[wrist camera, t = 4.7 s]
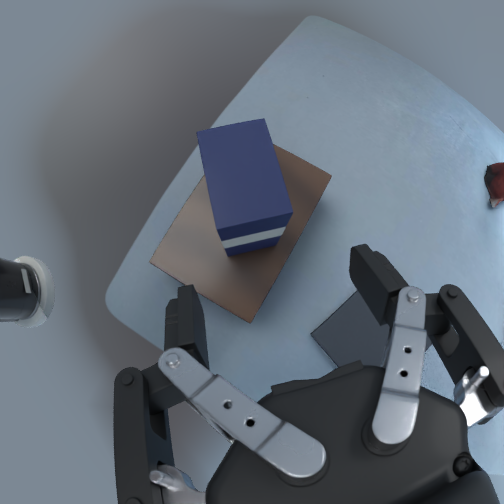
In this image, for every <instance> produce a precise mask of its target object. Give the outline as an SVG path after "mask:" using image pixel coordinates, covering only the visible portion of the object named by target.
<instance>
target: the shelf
mask: <svg viewBox="0 0 504 504" xmlns="http://www.w3.org/2000/svg"><path fill="white" fill-rule="evenodd" d="M273 146H274V150H275V153H276V156H277V159H278V162H279V166H280V169H281V172H282V175H283V179H284V182H285V185H286V189H287V192H288V195H289V199H290V202H291V206H292V209H293V214H292V216H291V218H290V220H289V222H288V224H287V226H286V228H285V230H284V232H283V234H282V235H281V237H280V239H279V241H278V243H277V245H275V246H271V247H267V248H262V249H258V250H254V251H250V252H245V253H241V254H237V255H232V256H227V254H226V252H225V249H224V247H223V245H222V243H221V240H220V237H219V235H218V232H217V230H216V225H215V221H214V216H213V211H212V207H211V202H210V197H209V193H208V188H207V183H206V178H205V174H204V176H203V177H202V179H201V180H200V182H199V183H198V185H197V186H196V188H195V189H194V191H193V192H192V194H191V195H190V197H189V198H188V200H187V201H186V203H185V204H184V206H183V207H182V209H181V211H180V212H179V214H178V215H177V217H176V218H175V220H174V222H173V223H172V225H171V226H170V228H169V230H168V231H167V233H166V234H165V236H164V238H163V239H162V241H161V243H160V244H159V246H158V248H157V249H156V251H155V253H154V254H153V256H152V258H151V259H150V261H149V262H150V263H151V264H153V265H154V266H156V267H157V268H159V269H161V270H162V271H164V272H165V273H167V274H168V275H170V276H172V277H173V278H175V279H176V280H178V281H179V282H181V283H183V284H184V285H186V286H187V285H191V284H193V285H194V287H195V290H196V292H197V293H199V294H201V295H202V296H204V297H206V298H207V299H209V300H211V301H212V302H214V303H216V304H217V305H219V306H221V307H222V308H224V309H226V310H228V311H229V312H231V313H233V314H234V315H236V316H238V317H240V318H241V319H243V320H245V321H247V322H248V323H251V322H252V320H253V318H254V317H255V315H256V313H257V312H258V310H259V308H260V306H261V305H262V303H263V301H264V299H265V298H266V296H267V294H268V292H269V291H270V289H271V287H272V285H273V284H274V282H275V280H276V278H277V277H278V275H279V273H280V271H281V269H282V268H283V266H284V264H285V262H286V260H287V259H288V257H289V255H290V253H291V251H292V250H293V248H294V246H295V244H296V242H297V240H298V239H299V237H300V235H301V233H302V231H303V229H304V228H305V226H306V224H307V222H308V220H309V218H310V216H311V215H312V213H313V211H314V209H315V207H316V205H317V203H318V202H319V200H320V198H321V196H322V194H323V192H324V190H325V188H326V186H327V184H328V182H329V181H330V179H331V177H332V175H330V174H328V173H326V172H325V171H323V170H321V169H319V168H318V167H316V166H314V165H312V164H310V163H309V162H307V161H305V160H303V159H301V158H299V157H297V156H296V155H294V154H292V153H290V152H288V151H286V150H284V149H282V148H280V147H278V146H276V145H274V144H273Z"/></svg>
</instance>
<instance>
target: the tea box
mask: <svg viewBox="0 0 504 504" xmlns="http://www.w3.org/2000/svg"><path fill="white" fill-rule="evenodd" d="M197 137H198V143H199V148H200V153H201V158H202V163H203V168H204V173H205V178H206V183H207V188H208V193H209V197H210V202H211V207H212V211H213V216H214V221H215V225H216V230H217V232H218V235H219V237H220V240H221V243H222V245H223V247H224V249H225V252H226V254H227V256H232V255H237V254H241V253H245V252H250V251H254V250H258V249H262V248H267V247H271V246H275V245H277V243H278V241H279V239H280V237H281V235H282V234H283V232H284V230H285V228H286V226H287V224H288V222H289V220H290V218H291V216H292V214H293V209H292V206H291V202H290V199H289V195H288V192H287V189H286V185H285V182H284V179H283V175H282V172H281V169H280V166H279V162H278V159H277V156H276V153H275V150H274V146H273V143H272V140H271V137H270V134H269V131H268V128H267V125H266V122H265V119H264V118H263V119H257V120H252V121H246V122H241V123H235V124H230V125H226V126H221V127H216V128H211V129H207V130H203V131H199V132H197Z"/></svg>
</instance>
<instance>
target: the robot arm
mask: <svg viewBox="0 0 504 504" xmlns="http://www.w3.org/2000/svg"><path fill="white" fill-rule="evenodd" d="M349 273H350V278H351V280H352V282H353V284H354V285H355V287H356V288H357V290H358V291H359V293H360V295H361V296H362V298H363V299H364V301H365V303H366V304H367V306H368V307H369V309H370V311H371V312H372V314H373V315H374V317H375V319H376V320H377V322H378V324H379V325H380V326H383V325H385V324H388V325H389V327H390V328H389V331H388V336H387V341H386V345H385V350H384V354H383V358H382V362H381V365H380V367H379V366H374V365H363V364H362V362H361V360H358V361H355V362H352V363H349V364H346V365H343V366H340V367H338V368H336V369H335V370H333V371H332V372H330V373H328V374H326V375H325V376H323V377H321V378H319V379H309V380H293V381H289V382H285V383H281V384H278V385H273V386H271V389H272V392H271V393H269V394H267V395H266V396H264V397H263V398H262V399H260V400H259V401H258V402H257V403H256V402H255V401H254V400H252V399H251V398H249V397H248V396H247V395H245V394H244V393H243V392H241V391H240V390H239V389H237V388H236V387H235V386H233V385H232V384H231V383H229V382H228V381H227V380H226V379H224V378H223V377H222V376H220V375H218V374H216V375H214V374H213V373H211V372H210V370H209V361H208V351H207V341H206V331H205V320H204V313H203V309H202V306H201V303H200V300H199V298H198V295H197V292H196V290H195V287H194V285H193V284H191V285H187V286H182V287H178V298H177V299H172V300H170V301H169V303H168V305H167V307H166V316H165V317H166V318H165V345H164V352H163V353H162V354H161V356H160V357H159V360H158V362H157V363H156V364H155V365H153V366H151V367H149V368H147V369H144V370H142V371H140V370H138V369H137V368H134V367H129V368H125V369H123V370H122V371H120V373H119V374H118V375H117V376H116V379H115V383H114V459H115V476H116V488H117V498H118V504H500V502H499V500H498V497H497V494H496V492H495V489H494V487H493V484H492V482H491V480H490V477H489V476H488V474H487V473H486V472H485V471H484V470H483V469H482V468H481V467H480V466H479V465H478V464H477V463H476V462H475V461H474V459H473V458H472V456H471V454H470V452H469V447H468V437H467V433H468V429H469V428H471V427H473V426H474V425H476V424H479V425H482V424H485V423H487V422H488V421H489V420H490V419H492V418H493V417H494V416H495V415H496V414H497V413H499V412H500V411H501V410H502V409H503V408H504V349H503V348H502V346H501V345H500V343H499V342H498V340H497V339H496V337H495V336H494V334H493V333H492V331H491V330H490V328H489V327H488V325H487V324H486V323H485V321H484V320H483V318H482V317H481V316H480V314H479V313H478V311H477V310H476V309H475V307H474V306H473V305H472V303H471V302H470V301H469V299H468V298H467V297H466V295H465V294H464V293H463V292H462V290H461V289H460V288H458V287H457V286H455V285H451V284H447V285H444V286H442V287H441V289H440V291H439V293H432V294H424V292H423V291H422V290H421V289H419V288H417V287H413V286H409V285H408V284H407V282H406V281H405V280H404V279H403V277H402V276H401V275H400V274H399V272H398V271H397V270H396V269H394V266H393V265H392V264H390V262H389V260H388V259H387V258H386V257H385V256H384V255H382V254H381V253H379V252H377V251H374V252H373V251H372V250H371V249H370V248H369V246H368V245H367V244H362V245H358V246H354V247H352V248H351V253H350V267H349ZM40 299H41V285H40V280H39V277H38V274H37V273H36V271H35V269H34V268H33V267H32V266H30V265H29V264H26V263H19V262H14V261H11V260H6V259H3V258H0V322H10V321H11V322H13V321H18V320H19V319H20V320H26V319H29V318H31V317H32V316H33V315H34V314H35V313H36V311H37V309H38V307H39V304H40ZM453 327H454V328H453ZM455 330H456V331H455ZM456 332H457V333H458V334H457V333H456ZM427 335H428V337H429V339H430V340H431V342H432V344H433V346H434V347H435V349H436V351H437V353H438V354H439V356H440V358H441V360H442V362H443V363H444V365H445V367H446V369H447V371H448V373H449V375H450V376H451V378H452V380H453V382H454V384H455V388H454V402H453V401H452V400H450V399H447V398H445V397H443V396H441V395H439V394H437V393H435V392H432V391H430V390H428V389H426V388H424V387H422V386H420V383H421V377H422V370H423V363H424V355H425V346H426V336H427ZM458 335H459V336H458ZM183 401H185V402H186V403H187V404H188V405H190V407H191V408H193V409H194V410H195V411H196V412H197V413H198V414H199V415H200V416H201V417H202V418H203V419H204V420H206V421H207V422H208V423H209V424H210V425H211V426H212V427H213V428H214V429H215V430H216V431H217V432H218V433H219V434H220V435H221V436H223V437H224V438H225V439H226V440H227V441H229V442H230V443H231V444H232V445H231V446H230V448H229V450H228V452H227V453H226V455H225V457H224V459H223V460H222V462H221V463H220V465H219V467H218V468H217V470H216V472H215V473H214V475H213V477H212V478H211V480H210V482H209V483H208V486H207V488H206V492H199V491H198V490H197V489H196V488H195V487H194V485H193V483H192V480H191V478H190V477H189V476H188V475H187V474H186V473H184V472H182V471H181V470H179V469H177V468H175V464H174V458H173V451H172V443H171V436H170V428H169V418H168V408H170V407H172V406H174V405H176V404H178V403H181V402H183Z"/></svg>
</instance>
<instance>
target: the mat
mask: <svg viewBox="0 0 504 504" xmlns="http://www.w3.org/2000/svg"><path fill="white" fill-rule="evenodd" d="M389 328H390V327H389V325H388V324H385V325H383V326H380V325H379V324H378V322H377V320H376V319H375V317H374V315H373V314H372V312H371V311H370V309H369V307H368V306H367V304H366V303H365V301H364V299H363V298H362V296H361V295H360V293H359V291H358V290H357V291H356V292H355V293H354V294H353V295H352V296H351V297H350V298H349V299H348V300H347V301H346V302H345V303H343V304H342V305H341V306H340V307H339V308H338V309H337V310H336V311H335V312H334V313H333V314H332V315H331V316H330V317H329V318H328V319H326V320H325V321H324V322H323V323H322V324H321V325H320V326H319V327H318V328H317V329H315V330H314V331H313V332H312V333H311V336H312V337H313V338H314V339H315V340H316V341H317V343H318V344H319V345H320V346H321V347H322V348H323V350H324V351H325V352H326V353H327V354H328V355H329V356H330V358H331V359H332V360H333V361H334V362H335V363H336V365H337V366H338V367H340V366H343V365H346V364H349V363H352V362H355V361H358V360H361V362H362V364H363V365H374V366H379V367H380V365H381V362H382V358H383V354H384V350H385V345H386V341H387V336H388V331H389ZM431 344H432V342H431V340H430V339H429V337H428V335H427V336H426V346H425V352H426V350H427V349H428V348H429V347H430V346H431Z"/></svg>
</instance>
